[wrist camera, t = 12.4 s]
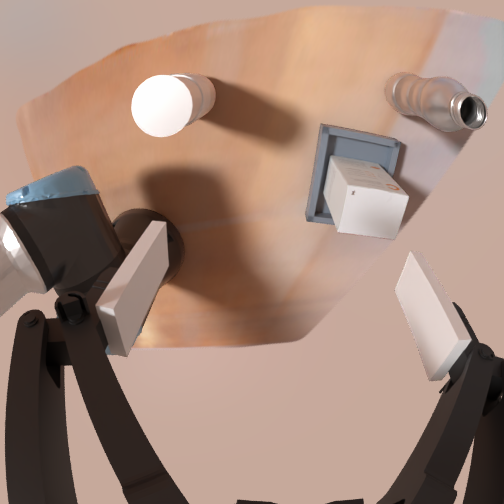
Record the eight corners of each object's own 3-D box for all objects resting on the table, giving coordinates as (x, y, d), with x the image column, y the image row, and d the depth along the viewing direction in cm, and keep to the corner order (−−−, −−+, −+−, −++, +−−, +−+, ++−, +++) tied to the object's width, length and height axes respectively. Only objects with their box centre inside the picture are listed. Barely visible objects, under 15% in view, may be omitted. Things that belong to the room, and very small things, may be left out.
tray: (305, 214, 50) (306, 221, 48) (320, 123, 42) (322, 126, 40) (373, 223, 50) (377, 231, 48) (395, 138, 42) (400, 142, 40)
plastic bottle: (421, 112, 39) (498, 144, 22) (382, 113, 40) (447, 145, 23) (418, 72, 36) (497, 82, 19) (377, 72, 37) (443, 77, 20)
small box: (322, 192, 48) (335, 233, 37) (329, 153, 44) (347, 183, 33) (370, 200, 47) (396, 241, 36) (379, 163, 44) (410, 195, 33)
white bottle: (165, 87, 41) (119, 97, 28) (205, 64, 39) (173, 62, 26) (186, 125, 44) (149, 149, 31) (226, 104, 42) (205, 118, 29)
